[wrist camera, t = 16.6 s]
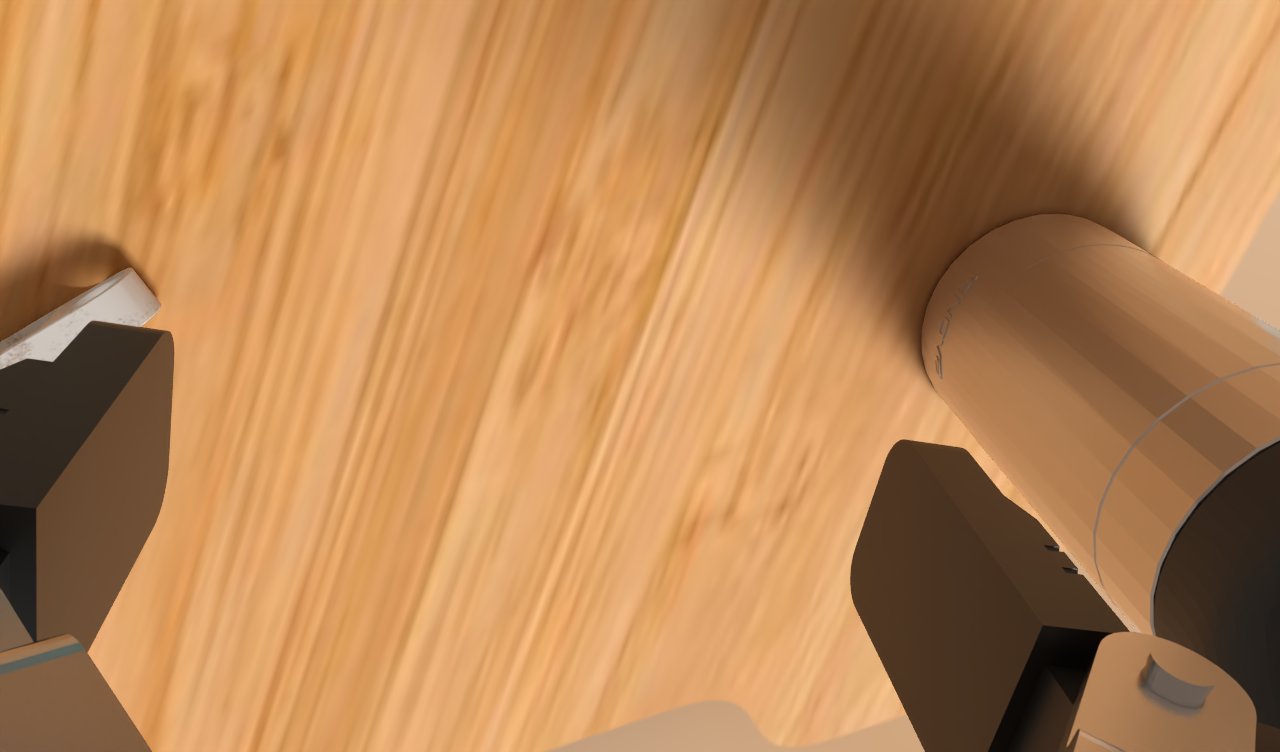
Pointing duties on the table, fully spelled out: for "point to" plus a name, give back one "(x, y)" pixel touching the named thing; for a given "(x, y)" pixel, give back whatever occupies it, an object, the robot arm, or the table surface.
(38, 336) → the wrench
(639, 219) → the table surface
